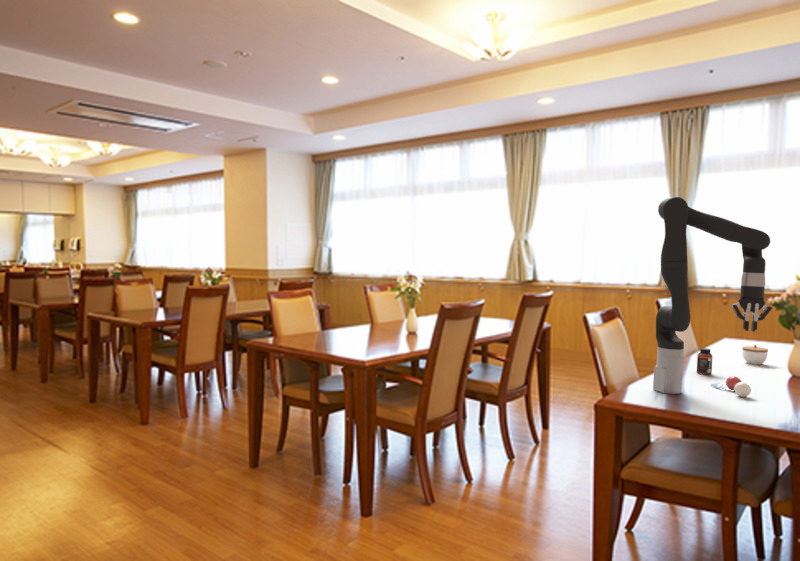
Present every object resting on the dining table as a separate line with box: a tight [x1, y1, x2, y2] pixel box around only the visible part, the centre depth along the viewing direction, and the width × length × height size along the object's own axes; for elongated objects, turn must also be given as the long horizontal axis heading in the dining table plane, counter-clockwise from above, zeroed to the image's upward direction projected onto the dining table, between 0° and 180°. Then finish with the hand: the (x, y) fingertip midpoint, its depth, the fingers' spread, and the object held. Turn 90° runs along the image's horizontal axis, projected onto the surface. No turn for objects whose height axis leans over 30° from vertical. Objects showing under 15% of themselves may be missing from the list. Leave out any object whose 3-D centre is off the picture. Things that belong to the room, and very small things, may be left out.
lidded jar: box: [742, 344, 769, 365], centre depth 278 cm, size 11×11×9 cm
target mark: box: [710, 382, 731, 392], centre depth 226 cm, size 14×14×1 cm
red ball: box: [725, 375, 742, 390], centre depth 222 cm, size 6×6×6 cm
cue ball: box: [734, 381, 752, 398], centre depth 212 cm, size 6×6×6 cm
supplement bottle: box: [696, 347, 713, 376], centre depth 251 cm, size 6×6×11 cm
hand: (749, 330), depth 209 cm, fingers closed
